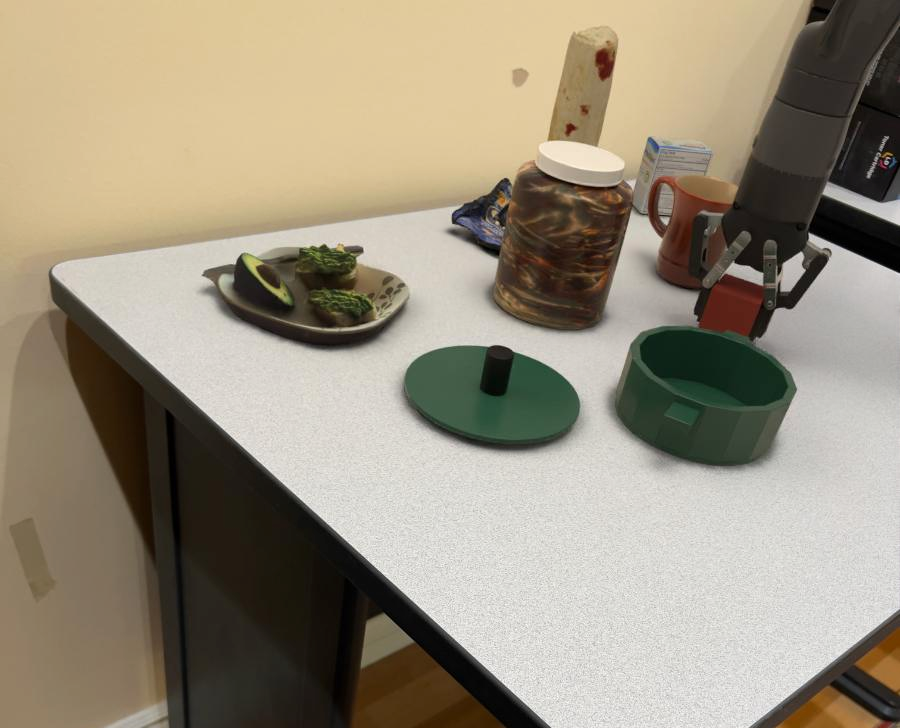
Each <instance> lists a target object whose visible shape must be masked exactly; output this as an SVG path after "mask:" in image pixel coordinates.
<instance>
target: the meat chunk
mask: <svg viewBox="0 0 900 728" xmlns="http://www.w3.org/2000/svg"><path fill="white" fill-rule="evenodd" d="M763 301H764V286H763V285H761V284H758V283H755V282H752V281H750V280H746V279H745V278H741V277H738V276H735V275H732V274H729V273H726V272H724V273H723V275H722V276H721V277H720V278H719V281H718V282H717V283H716V284H715V286H714V287H713V288H712V290H711V293H710V296H709V299H708V301H707V304H706V307H705V310H704V312H703V315H702V318H701V321H700V323H699V322H698V327H697V328H702V329H708V330H713V331H718V332H722V333H724V332H725V330H729V331H732V332H735V333H737V334H740V335H743V336H746V337H748V336H749V334H750V331H751V329H752V326H753V324H754V322H755V319H756V317H757V314H758V312H759V309H760V307H761V306H762V304H763Z"/></svg>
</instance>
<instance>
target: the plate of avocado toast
mask: <svg viewBox="0 0 900 728" xmlns="http://www.w3.org/2000/svg"><path fill="white" fill-rule="evenodd" d="M336 245H337V246H336V247H331V248H330V247H329V246H328V244H326V243H322V244H321V245H319V246H317V245H316V246H315V245H311V246H309V247H306V246H279V247H273V248H271V249H269V250H267V251H264V252H262V253H261V254H259V255H256V256H255V255H253V254H251V253H248V252H242V253H240V255H239V256H238V257H237V258H236V261H235V264H233V263H228V264H223V265H220V266H215V267H210V268H207V269H205V270H203V272H202V274H201V275H200V276H201V277H203V278H206V279H208V280H210V281H211V282H212V283H213V284H214V285H215V286H216V288H217V291H218V293H219V295H220V297H221V298H222V299H223V301H224V303H225V304H226V305H227V306H228V308H229V309H230V310H231V312H232V313H233V314H234V315H235V316H237V317H238V318H239V319H241V320H242V321H245V322H247V323H249V324H252V325H254V326H257V327H258V328H262V329H264V330H266V331H268V332H271V333H274V334H276V335H278V336H280V337H284V338H287V339H290V340H294V341H298V342H302V343H307V344H315V345H322V346H343V345H348V344H351V343H355V342H357V341H360V340H362V339H364V338H366V337H368V336H370V335H372V334H375V333H377V332H378V331H380V330H382V328H383V327H384V326H385V324H386V322H387V321H389V320H390V319H392V318H393V317H394V316H395V315H397V313H398V312H399V311H400V310H401V309H402V307H403V306H404V305H405V303H406V302H407V301H409V299H410V297H411V291H410V287H409V285H408V284H407V283H406V282H405V281H404V280H403V279H402V277H400V276H398V275H396V274H394V273H392V272H389V271H386V270H382V269H378V268H374V267H371V266H368V265H364V264H361V263H359V262H358V260H357V258H358V257H360V256H361V255H363V254H364V252H365V251H364V247H363V246H361V245H357V244H355V245H346V246H345V245H344V244H342V243H338V244H336Z"/></svg>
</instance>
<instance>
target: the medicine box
mask: <svg viewBox="0 0 900 728" xmlns="http://www.w3.org/2000/svg"><path fill="white" fill-rule="evenodd" d="M643 150H644V151H643V154H642V158H641V162H640V165H639V169H638V172H637V176H636V179H635V182H634V186H633V193H634V199H633V205H632V206H634V208H635V209H636V210H637V211H638V212H639V213H640V214H643V215H648V198H649V193H650V190H651V187H652V185H653V183H654V181H655V180H656V179H658V178H659V177H662V176H672V177H675V178H676V177H678V176H681V175H690V174H692V175H702V176H708V175H707V174H708V171H709V168H710V165H711V162H712V160H713V157H714V152H713V151H712V150H711V148H709V146H707V145H706V144H705V143H704V142H702V141H701V140H695V139H687V138H676V137H663V136H651V135H650V136H647V140H646V144H645V147H644V149H643ZM673 198H674V193H673V192H672V190H671V188H670V186H668V185H667V184H665V183H664V185H663V187H662V189H661V193H660V197H659V204H658V212H659V216H671V212H672V207H673Z"/></svg>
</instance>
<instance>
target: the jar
mask: <svg viewBox="0 0 900 728" xmlns="http://www.w3.org/2000/svg"><path fill="white" fill-rule="evenodd" d="M625 168H626V162H625V161H624V160H623V159H622V158H621V157H620V156H618V155H617V154H615V153H613V152H611V151H609V150H606V149H604V148H601V147H598V146H597V147H595V146H591V145H587V144H583V143H578V142H571V141H548V142H547V141H544V142H542V143H540V144H539V145H538V148H537V153H536V158H535V159H533V160H529V161H526V162H523V163H522V164H521V165H520V166H519V167H518V169H517V171H516V174H515V177H514V181H513V184H512V185H513V189H512V194H511V198H510V203H509V208H508V213H507V218H506V223H505V228H504V234H503V239H502V244H501V250H500V251H499V255H498V260H497V267H496V271H495V277H494V283H493V289H492V296H493V299H494V301H495V303H496V304H497V305H498V306H499V307H500V308H501V309H502V310H504V311H505V312H507V313H508V314H510V315H512V316H513V317H516V318H517V319H520V320H522V321H525V322H528V323H530V324H534V325H537V326H541V327H546V328H551V329H559V330H582V329H586V328H591V327H593V326H595V325H597V324H598V323H599V322H601V320H602V318H603V316H604V313H605V309H606V305H607V303H608V299H609V296H610V292H611V288H612V284H613V281H614V278H615V275H616V271H617V268H618V267H617V266H618V263H619V260H620V255H621V253H622V250H623V245H624V241H625V238H626V233H627V229H628V226H629V222H630V218H631V214H632V210H633V206H634V205H633V199H634V193H633V190H634V188H632V186H631V185H630V184H629V183H628V182H627V181H626V180H624V179H623V176H624V172H625Z"/></svg>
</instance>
